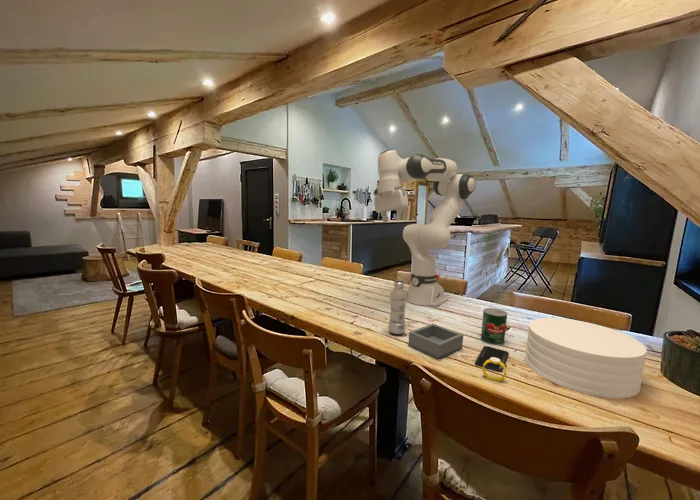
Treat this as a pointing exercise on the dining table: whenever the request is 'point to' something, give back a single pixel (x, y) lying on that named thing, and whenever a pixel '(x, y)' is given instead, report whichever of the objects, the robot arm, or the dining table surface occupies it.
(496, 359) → the watch
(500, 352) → the phone
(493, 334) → the canned tomato
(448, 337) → the tray
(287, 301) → the dining table surface
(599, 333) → the plate stack
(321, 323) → the dining table surface
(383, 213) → the robot arm
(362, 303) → the dining table surface
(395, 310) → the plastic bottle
